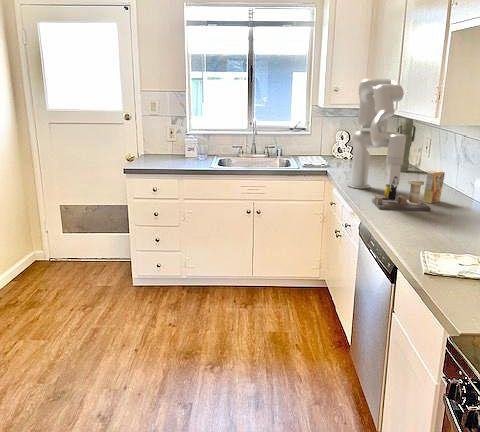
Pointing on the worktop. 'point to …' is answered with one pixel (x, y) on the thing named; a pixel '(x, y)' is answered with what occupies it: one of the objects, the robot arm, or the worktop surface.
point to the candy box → (433, 186)
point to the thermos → (407, 131)
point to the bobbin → (414, 192)
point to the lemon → (388, 191)
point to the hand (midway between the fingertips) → (389, 197)
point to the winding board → (398, 204)
